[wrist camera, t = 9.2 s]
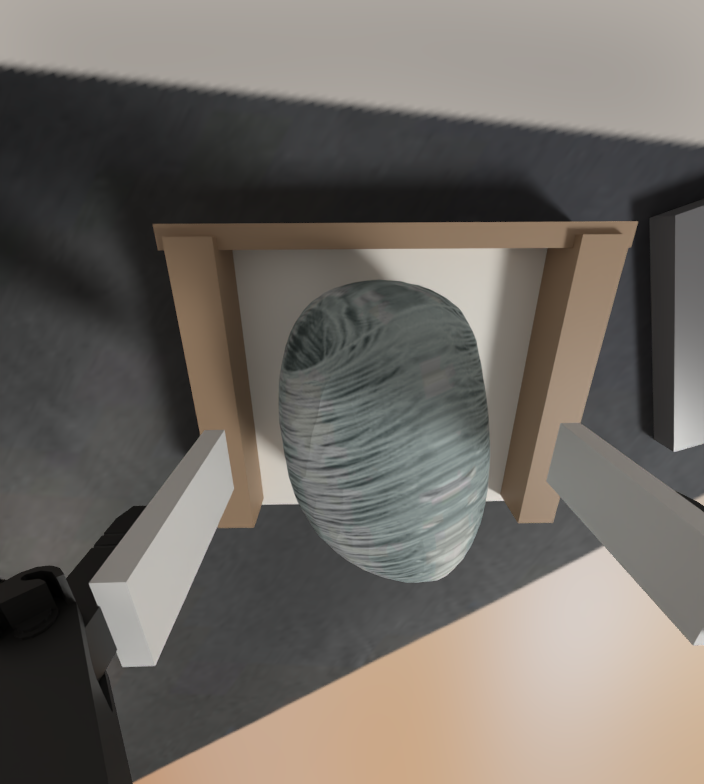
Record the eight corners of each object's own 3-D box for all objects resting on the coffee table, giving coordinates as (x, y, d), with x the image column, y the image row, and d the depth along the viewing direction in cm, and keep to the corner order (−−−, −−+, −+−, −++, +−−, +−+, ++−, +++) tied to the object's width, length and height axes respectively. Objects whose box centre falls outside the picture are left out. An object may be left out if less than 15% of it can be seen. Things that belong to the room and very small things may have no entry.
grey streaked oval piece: (214, 278, 14) (325, 416, 7) (409, 237, 17) (620, 299, 10) (276, 495, 22) (356, 663, 15) (401, 437, 25) (514, 550, 18)
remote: (648, 435, 24) (673, 451, 22) (642, 218, 18) (675, 215, 17) (717, 416, 23) (749, 430, 21) (730, 187, 18) (775, 180, 16)
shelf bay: (234, 485, 24) (210, 534, 20) (192, 228, 18) (145, 222, 14) (523, 481, 24) (559, 529, 20) (578, 226, 18) (647, 220, 14)
